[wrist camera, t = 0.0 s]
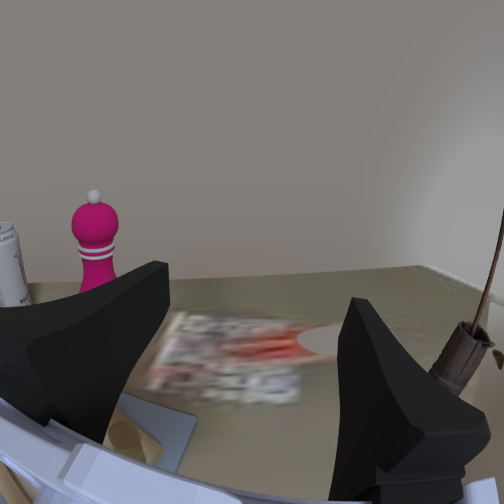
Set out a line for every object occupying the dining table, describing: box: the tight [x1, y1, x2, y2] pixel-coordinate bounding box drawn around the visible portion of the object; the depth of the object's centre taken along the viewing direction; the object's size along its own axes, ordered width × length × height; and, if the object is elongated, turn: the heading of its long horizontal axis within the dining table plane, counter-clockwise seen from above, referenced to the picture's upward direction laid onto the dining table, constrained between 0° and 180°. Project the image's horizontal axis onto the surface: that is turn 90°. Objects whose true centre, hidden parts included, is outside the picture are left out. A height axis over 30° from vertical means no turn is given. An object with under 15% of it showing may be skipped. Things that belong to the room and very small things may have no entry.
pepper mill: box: [72, 190, 118, 293], centre depth 36 cm, size 7×7×20 cm
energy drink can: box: [0, 222, 32, 307], centre depth 34 cm, size 6×6×15 cm
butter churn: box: [428, 210, 504, 397], centre depth 22 cm, size 9×10×28 cm
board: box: [0, 393, 197, 504], centre depth 20 cm, size 22×20×1 cm
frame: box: [0, 408, 165, 504], centre depth 18 cm, size 16×12×6 cm
